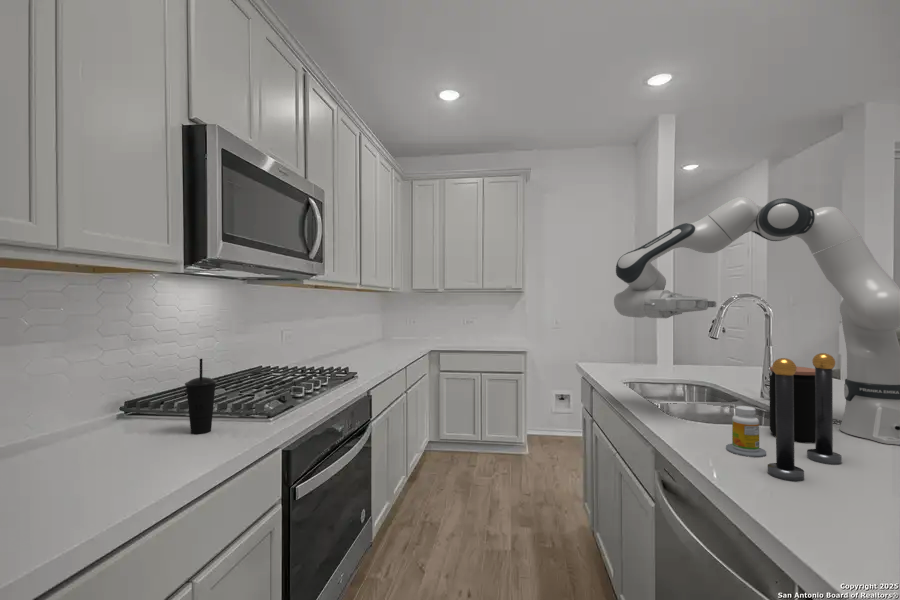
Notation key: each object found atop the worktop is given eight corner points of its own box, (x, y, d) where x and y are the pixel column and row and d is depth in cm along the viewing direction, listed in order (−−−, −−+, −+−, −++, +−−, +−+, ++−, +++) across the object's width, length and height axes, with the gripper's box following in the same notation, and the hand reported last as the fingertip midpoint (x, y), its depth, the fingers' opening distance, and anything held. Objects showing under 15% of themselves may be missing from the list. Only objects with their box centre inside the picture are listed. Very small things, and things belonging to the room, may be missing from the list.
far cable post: (837, 458, 103) (837, 352, 103) (844, 466, 98) (844, 355, 98) (804, 453, 106) (804, 351, 106) (809, 461, 101) (809, 353, 101)
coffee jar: (812, 433, 122) (811, 366, 122) (827, 445, 112) (827, 372, 112) (764, 429, 126) (764, 364, 126) (776, 440, 116) (775, 370, 116)
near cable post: (801, 473, 94) (799, 357, 94) (806, 483, 89) (805, 360, 89) (766, 468, 97) (764, 355, 97) (769, 477, 92) (768, 358, 92)
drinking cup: (183, 430, 125) (184, 358, 125) (214, 426, 130) (215, 356, 130) (185, 437, 119) (185, 361, 119) (218, 432, 123) (218, 359, 123)
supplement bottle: (728, 444, 111) (728, 404, 111) (752, 445, 110) (752, 405, 110) (738, 451, 106) (737, 409, 106) (763, 453, 105) (763, 410, 105)
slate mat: (764, 449, 109) (764, 446, 109) (768, 459, 102) (768, 456, 102) (725, 444, 113) (725, 441, 113) (726, 453, 106) (726, 451, 106)
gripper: (639, 293, 136) (684, 293, 124) (680, 294, 146) (724, 293, 134) (640, 314, 136) (684, 316, 124) (680, 313, 146) (725, 314, 134)
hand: (705, 304), depth 129 cm, fingers open, 8 cm apart
